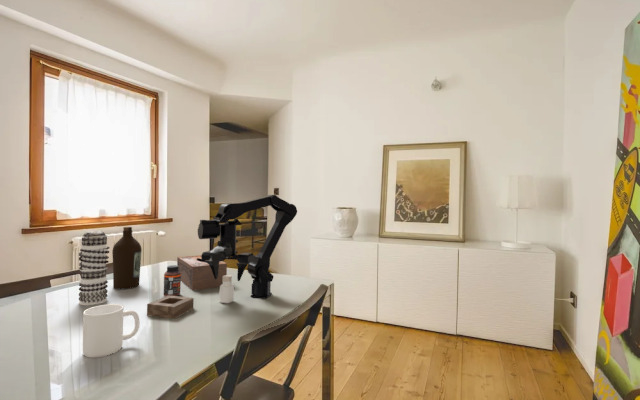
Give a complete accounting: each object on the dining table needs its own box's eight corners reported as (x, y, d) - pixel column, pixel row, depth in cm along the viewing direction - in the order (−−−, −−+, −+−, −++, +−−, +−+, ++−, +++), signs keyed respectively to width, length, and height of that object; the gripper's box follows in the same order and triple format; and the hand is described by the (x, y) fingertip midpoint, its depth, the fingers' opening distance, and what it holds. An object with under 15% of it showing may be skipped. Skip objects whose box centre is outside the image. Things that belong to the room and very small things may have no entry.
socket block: (193, 309, 114) (193, 297, 114) (173, 319, 104) (174, 306, 104) (168, 306, 116) (168, 295, 116) (146, 316, 106) (147, 303, 106)
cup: (83, 347, 83) (83, 307, 83) (137, 337, 90) (138, 300, 90) (81, 361, 76) (82, 317, 76) (140, 349, 83) (141, 308, 83)
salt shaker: (234, 301, 123) (234, 275, 123) (228, 304, 119) (228, 277, 119) (225, 299, 124) (225, 274, 124) (218, 302, 121) (219, 276, 121)
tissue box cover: (176, 278, 156) (177, 257, 156) (207, 274, 165) (208, 254, 165) (192, 291, 136) (192, 266, 136) (226, 286, 144) (226, 263, 144)
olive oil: (107, 290, 133) (108, 228, 133) (117, 283, 144) (118, 226, 143) (136, 289, 135) (137, 228, 135) (144, 282, 146) (145, 226, 146)
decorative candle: (111, 301, 119) (113, 232, 119) (80, 307, 112) (82, 233, 112) (104, 296, 125) (106, 230, 125) (74, 301, 119) (76, 231, 119)
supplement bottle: (173, 298, 125) (174, 268, 125) (160, 296, 126) (160, 267, 126) (183, 293, 131) (184, 265, 131) (170, 292, 132) (170, 264, 132)
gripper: (192, 239, 116) (191, 283, 116) (240, 241, 112) (240, 287, 112) (210, 235, 127) (209, 276, 127) (255, 237, 123) (254, 279, 123)
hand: (227, 279), depth 122 cm, fingers open, 9 cm apart
